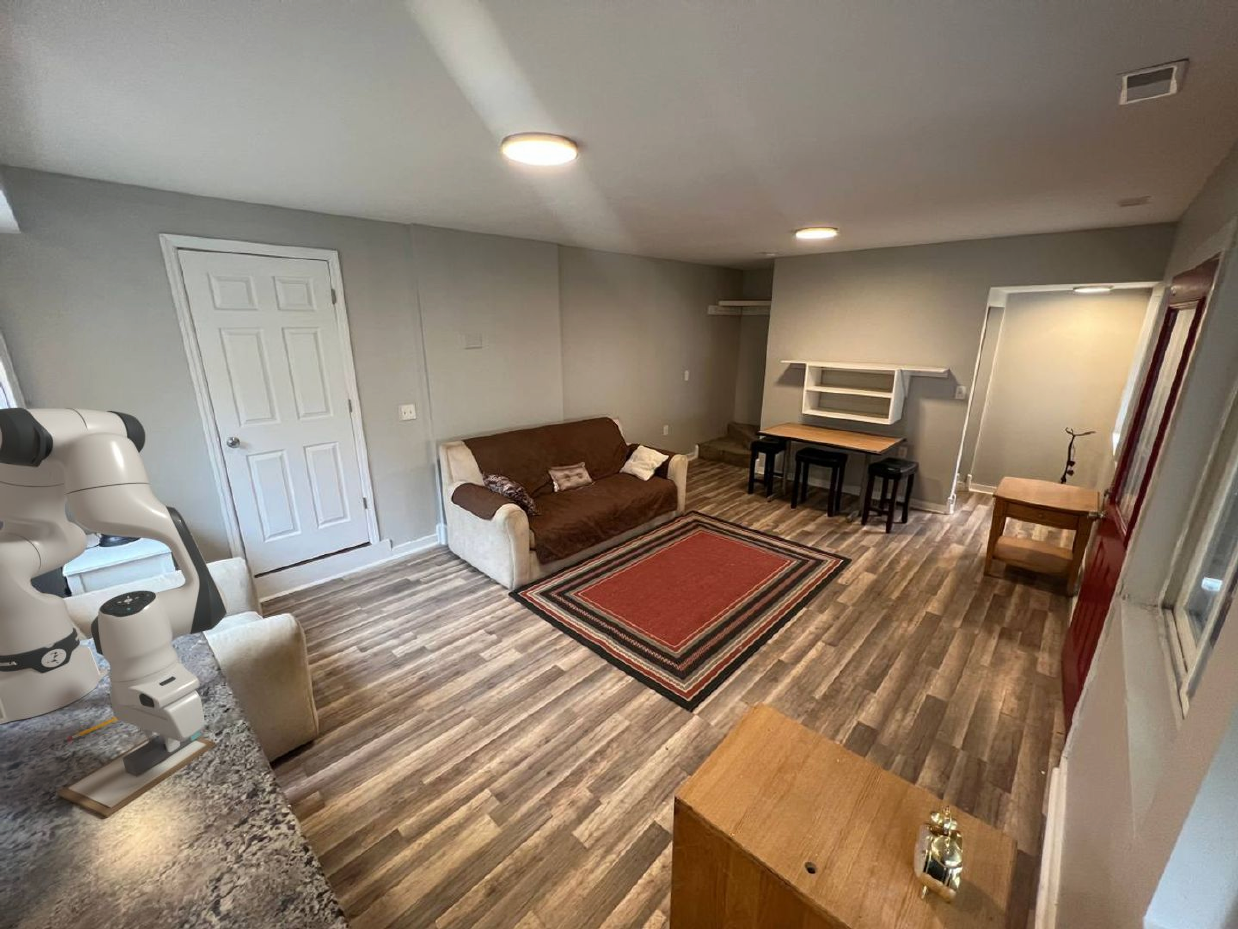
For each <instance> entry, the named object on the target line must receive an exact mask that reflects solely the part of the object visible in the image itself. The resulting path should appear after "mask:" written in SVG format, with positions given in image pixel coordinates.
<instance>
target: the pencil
mask: <svg viewBox="0 0 1238 929" xmlns="http://www.w3.org/2000/svg"><path fill="white" fill-rule="evenodd" d="M116 721H119V720H118V719H117V718H116V717H115V716H114V717H113V718H110V719H108V720H106V721H104V722H102V723H99V724H97V725H95V726H92V727H90V728H88V729H85V730H83V731H81V732H79V733H76V734H74V735H71V736H69V737H66V740H67V742H70V741H72V740H75V739H76V738H79V737H81V736H84V735H86V734H88V733H90V732H93V731H95V730H97V729H99V728H102V727H105V726H106V725H109V724H112V723H113V722H116Z"/></svg>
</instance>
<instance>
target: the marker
mask: <svg viewBox="0 0 1238 929" xmlns="http://www.w3.org/2000/svg"><path fill="white" fill-rule="evenodd" d="M201 736H202V733H201V731H199V732H198V733H196V734H195V735H193V736H192V737H190V738H188V739H187V740H185V741H183V742H180V746H179V747H178V748H177V749H175V750H174V751H172V752H168V751H166V750H164V747H163V744H162V743H163V742H165V738H164V737H163V735H160V736H158V737H157V738H155V739H153V740H152V741H150V742H148V743H147V744H145V745H143V746H142V747H140V748H138V749H137V750H135V751H133V752H132V753H130V754H128V755H126V756H125V757H123V758H122V759H123V762H124V766H125V769H126V772H127V773H129V774H132V775H134V776H136V777H137V776H138V775H140V774H141V773H143V772H145V771H146V770H148V769H149V768H151V767H152V766H154V765H156V764H157V763H159V762H160V761H162V760H163V759H165V758H167V757H168V756H170V755H171V754H173V753H174V752H176V751H177V750H179V749H181V748H182V747H184V746H185V745H187V744H188V743H190V742H192V741H193V740H195V739H196V738H198V737H201Z"/></svg>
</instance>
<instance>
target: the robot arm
mask: <svg viewBox="0 0 1238 929" xmlns="http://www.w3.org/2000/svg"><path fill="white" fill-rule="evenodd" d="M146 437H147V436H146V431H145V428H144V426H143V424H142V423H141V421H139V419H138V418H137V417H136V416H133V415H132V414H129V413H125V412H122V411H121V412H120V411H113V410H107V411H105V410H99V409H98V410H97V409H90V408H88V409H87V408H75V407H66V408H65V407H64V408H53V407H52V408H48V407H47V408H41V407H40V408H24V407H8V408H6V407H5V408H0V522H2V523H3V525H2V528H1V529H0V725H3V724H6V723H9V722H13V721H19V720H25V719H31V718H35V717H38V716H42V715H44V714H47V713H51V712H52V711H53V712H54V711H55V710H58V709H61V708H63V707H65V706H68V705H70V704H72V703H74V702H77V701H78V700H79V699H81V698H84V696H86V695H88V694H89V693H90V692H92V691H93V690H94V689H96V687H98V685H99V683H100V681H101V680H102V679H103V678H104V677H105V676H108V678H109V682H110V686H111V687H110V689H109V697H110V703H111V707H112V714H113V716H114V718H115V717H116V718H117V719H118V720H117V721H121V722H124V723H126V724H130V725H133V726H136V727H138V728H139V729H140V731H141V733H143V735H144V736H145V738H146V739H147V740H148V742H150V741H152V740H153V739H155V738H157V737H158V736H160V735H163V737H164V738H165V742H163V743H162V744H163V747H164V750H166V751H168V752H172V751H174V750H175V749H177V748H178V747H179V746H180V742H183V741H185V740H187V739H188V738H190V737H192V736H193V735H195V734H196V733H198V732H199V731H200V732H201V731H202V730H203V728H204V726H205V723H206V722H205V720H206V719H205V715H204V714H205V713H204V707H203V703H202V700H201V696H200V695H199V693H198V692H197V689H198V688H199V687H200V684H201V683H200V681H199V678H198V677H197V676H196V675H195V674H193V673H192V672H190V671H189V670H188V669H187V668H186V667H185V666H184V664H183V663H182V662H180V660H179V655H178V652H177V650H176V649H175V648H174V646H173V639H174V640H175V639H176V638H180V637H183V636H186V635H187V636H188V635H193V634H198V633H202V632H203V633H204V632H207V631H210V630H213V629H214V628H215V627H216V626H217V625H218V624H219V623H220V622H221V621H222V620H223V619H224V618H225V616H226V615H227V614H228V613H227V610H228V602H227V598H226V595H225V593H224V592H223V590H222V589H221V587H220V586H219V585H218V583H217V582H216V581H215V580H214V577H213V576H212V574H211V572H210V570H209V567H208V565H207V563H206V561H205V559H204V556H203V555H202V552H201V551H200V549H199V545H198V544H197V542H196V540H195V537H194V535H193V534H192V532H191V531H190V529H189V527H188V526H187V523H186V521H185V520H184V517H183V516H182V515H181V514H180V512H179V511H178V510H177V509H176V508H175V507H172V506H168V505H164V504H163V503H162V502H161V501H159V499H158V498H157V497H156V496H155V495H154V493H153V491H152V487H151V485H150V480H149V475H148V472H147V470H146V466H145V464H144V462H143V459H142V457H141V455H140V453H141V452H142V450H143V449H144V447H145V445H146ZM66 503H67V504H68V507H69V510H70V512H71V515H72V517H73V519H74V521H75V522H76V523H77V524H76V523H74V522H72V521H69V520H68V517H67V514H66ZM80 526H81V527H82V528H81V527H80ZM83 528H84V529H85V530H88V531H89V532H90V531H91V532H92V533H97V534H101V535H106V536H114V537H123V538H124V537H125V538H138V539H139V538H140V539H147V540H148V539H149V540H153V541H157V542H159V543H162V544H164V545H165V546H166V547H168V549H169V550H170V551H171V554H172V556H173V558H174V560H175V562H176V563H177V565H178V568H179V569H180V572H181V574H182V576H183V578H184V583H183V584H182V585H179V586H177V587H174V588H170V589H169V588H168V589H166V590H162V591H157V592H155V591H152V590H134V591H129V592H125V593H122V594H119V595H116V596H115V597H112V598H110V599H109V600H106V601H105V602H104V603H102V605H101V606H99V608H98V612H97V616H96V617H95V618H94V619H93V620H92V622H91V623H90V624H91V625H90V632H91V635H92V639H93V642H94V647H95V650H96V653H97V654H98V655H101V656H103V658H104V659H105V660H106V661H107V663H108V665H109V671H108V669H107V668H104V667H102V668H101V667H98V665H97V662H96V659H95V656H94V654H93V652H92V649H91V647H90V646H86V645H82V644H81V641H80V639H79V638H80V636H79V633H78V632H77V629H76V628H75V627H73V624H72V621H71V617H70V613H69V610H68V605H67V602H66V600H65V599H64V598H62V597H60V596H58V595H56V594H51V593H42V592H37V591H36V590H35V588H34V587H33V585H32V583H31V579H34V578H36V577H39V576H41V575H44V574H47V573H50V572H52V571H55V570H57V569H60V568H61V567H63V566H66V565H67V564H69V563H70V562H72V561H74V560H76V559H77V558H78V557H80V556H81V555H83V554H84V553H85V551H86V550H87V547H88V537H87V535H86V533H85V531H84V529H83Z"/></svg>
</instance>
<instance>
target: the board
mask: <svg viewBox="0 0 1238 929" xmlns="http://www.w3.org/2000/svg"><path fill="white" fill-rule="evenodd" d="M147 743H148V740H147V738H146V739H145V740H143V741H141V742H140V743H138V744H136V745H135V746H133V747H130V749H128V750H126V751H124V752H122V753H121V754H119V755H117V756H116V757H114V758H113V759H111V760H109V761H108V762H106V763H104V764H102V765H100V766H99V767H97V768H96V769H94V770H92V771H90V772H89V773H87V774H85V775H84V776H81V777H80V778H79V779H76V780H75V781H74V782H73V781H72V783H70V784H68V785H66V786H65V787H63V788H62V789H60V790H58V791H56V793H57V795H58V796H59V797H61V798H64V799H66V800H68V801H71V802H72V803H74V804H76V805H79V806H80V807H83V808H84V809H86V810H89V811H91V812H94V813H95V814H98V815H100V816H101V817H104V818H106V819H108V818H109V817H112V815H114V814H115V813H117V812H118V811H120V810H121V809H123V808H124V807H126V806H127V805H129V804H131V802H133V801H135V800H136V799H138V798H140V796H142V795H144V794H145V793H147V792H148V791H150V790H151V789H152V788H154V787H156V786H157V785H158V784H160V783H162V782H163V781H165V780H166V779H167V778H169V777H170V776H172V775H173V774H175V773H176V772H178V771H179V770H181V769H182V768H184V767H186V766H187V765H188V764H190V763H191V762H193V761H194V760H196V759H197V758H199V757H200V756H202V755H203V754H205V753H206V752H209V751H210V749H212V748H214V747H215V746H216V742H215V741H212V740H209V739H206V738H203V737H201V736H199V737H198V738H196V739H195V740H193V741H192V742H190V743H188V744H187V745H185V746H184V747H182V748H181V749H179V750H177V751H176V752H174V753H173V754H171V755H170V756H168V757H167V758H165V759H163V760H162V761H160V762H159V763H157V764H156V765H154V766H152V767H151V768H149V769H148V770H146V771H145V772H143V773H141V774H140V775H138V776H137V777H136V776H134V775H132V774H129V773H127V772H126V769H125V766H124V762H123V759H122V758H123V757H125V756H126V755H128V754H130V753H132V752H133V751H135V750H137V749H138V748H140V747H142V746H143V745H145V744H147Z"/></svg>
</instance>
